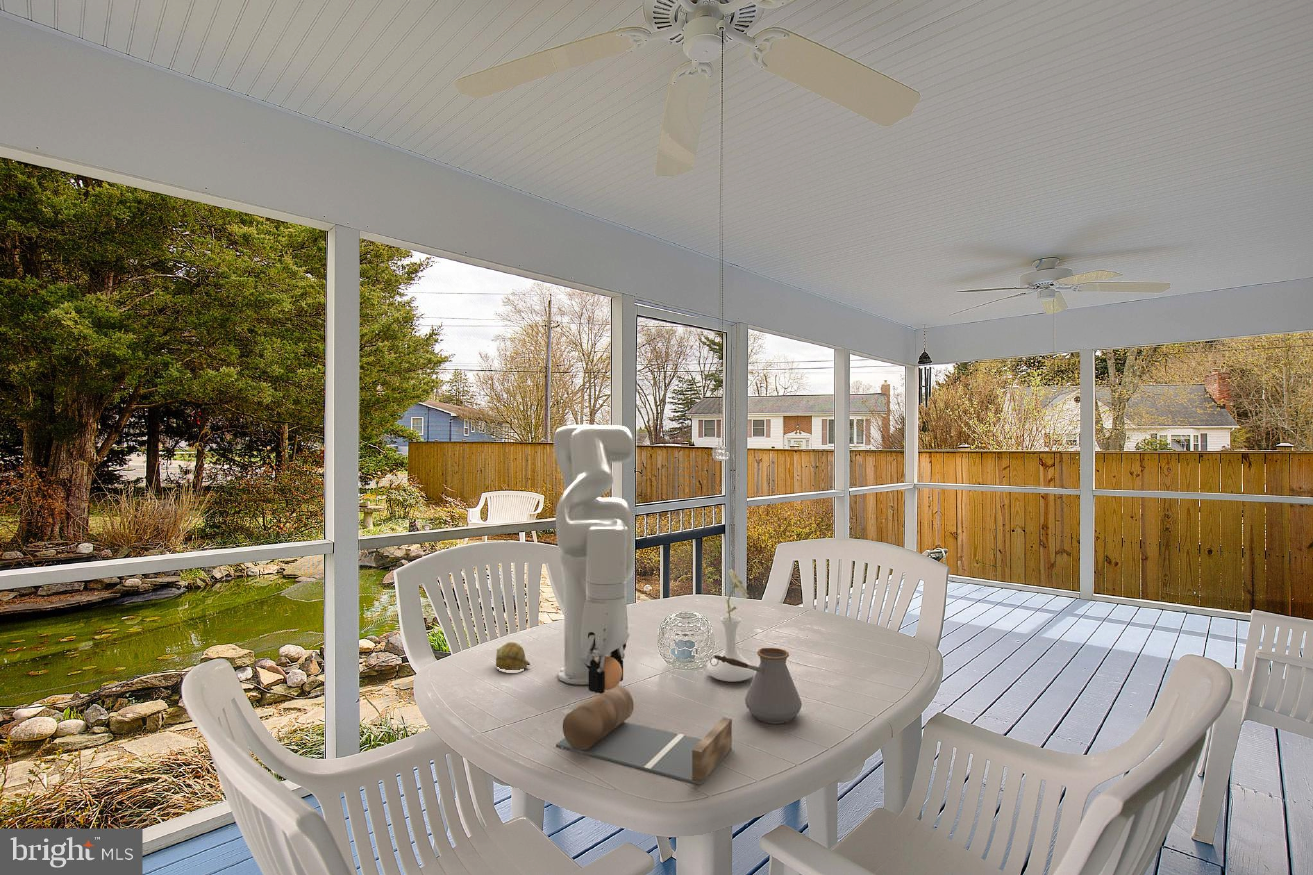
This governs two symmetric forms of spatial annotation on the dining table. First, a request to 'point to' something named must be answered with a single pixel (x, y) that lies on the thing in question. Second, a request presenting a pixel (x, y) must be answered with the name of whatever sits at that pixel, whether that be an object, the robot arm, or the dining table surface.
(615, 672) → the ball
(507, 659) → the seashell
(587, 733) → the brown cylinder
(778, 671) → the coffee pot
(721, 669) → the flower in vase
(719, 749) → the backstop board
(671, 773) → the throwing mat
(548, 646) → the dining table surface
